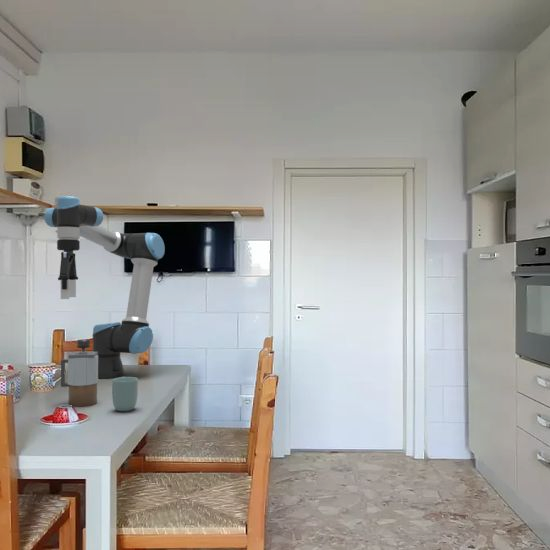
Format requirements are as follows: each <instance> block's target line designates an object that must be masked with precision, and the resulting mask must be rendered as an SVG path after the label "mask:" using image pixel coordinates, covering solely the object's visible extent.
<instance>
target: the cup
mask: <svg viewBox="0 0 550 550" xmlns="http://www.w3.org/2000/svg"><path fill="white" fill-rule="evenodd" d="M111 386H112V387H111V389H112V390H111V397H112V399H111V400H112V404H113V405H112V406H113V407H114V409H115V410H116V411H117V412H130V411H132V410H134V409H135V407H136V405H137V402H138V397H139V396H138V394H139V393H138V392H139V391H138V390H139V378H138V377H134V376H119V377H114V378H112V383H111Z"/></svg>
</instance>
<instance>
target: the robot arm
mask: <svg viewBox="0 0 550 550" xmlns="http://www.w3.org/2000/svg"><path fill="white" fill-rule="evenodd" d="M56 201H57V203H56V207H50V208H47V209H46V210H45V213H44V222H45V224H46V225H47V226H48V227H50V228H57V229H55V231H54V232H55V233H56V238H57V241H56V248H57V249H56V250H57V251H60V252H61V253H60V265H59V268H60V269H59V276H58V277H57V281H60V300H70V298H77V294H76V293H77V280H79V277H78V276H77V275H78V274H77V264H76V253H74V251H76V252H77V251H79V250H80V249H81V248H80V245H81V243H80V242H81V241H79V239H80V237H82V238H84V239H85V240H88V241H90V242H92V243H94V244H96V245H99V246H101V247H103V249H104V250H105V251H107V252H108V253H111V254H114V255H115V256H118V257H120V258H124V259H129V260H130V261H131V263H132V264H133V269H132V276H131V281H130V282H131V283H130V290H129V296H128V303H127V308H126V309H127V310H126V315H125V318H124V319H122V320H121V322H120V321H119V322H109V323H102V324H96V325H94V326H93V327H92V329H93V330H92V352H98V379H115V378H119V377H124V375H125V368H124V365H123V362H122V359H121V354H133V355H135V354H143V353H146V352H147V351H148V350H149V349H150V347H151V345H152V343H153V340H154V333H153V330H152V328H151V327H150V323H149V321H148V320H147V315H148V309H149V302H150V295H151V289H152V288H151V287H152V282H153V272H154V267H156V266H157V265H158V261H159V260H160V259H162V258H163V257H164V255H165V251H166V250H165V249H166V247H165V243H164V240H163V238H162V237H161V236H160V234H158V233H155V232H139V233H137V232H136V233H121V232H118V231H115V230H112V231H111V230H110V229H107V228H105V227H103V226H101V224H102V223H103V220H104V213H103V211H102V210H101V208H99V207H96V206H93V205H92V206H91V205H85V204H81V202H80V199H79V197H77V196H72V195H62V196H59V197H57V200H56Z"/></svg>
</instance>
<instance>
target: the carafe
mask: <svg viewBox="0 0 550 550" xmlns="http://www.w3.org/2000/svg"><path fill="white" fill-rule="evenodd" d="M67 358H68V359H67ZM67 358H66V359H64V358H63V359H61V360H60V388H63V387H64V388H67V387H68V404H69V405H72V406H73V408H83V407H90V406H91V407H92V406H93V405H96V404H98V381H99V378H98V352H93V351H85V354H82V351H73V352H71V353H70V354H68V357H67ZM66 364H67V382H66ZM69 405H68V406H69ZM72 406H71V407H72Z"/></svg>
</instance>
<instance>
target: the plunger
mask: <svg viewBox="0 0 550 550" xmlns="http://www.w3.org/2000/svg"><path fill="white" fill-rule="evenodd" d="M76 345H77V346H76V348H80V349H81V352H82V354H85V352H86V349H87V348H90V347H91V340H90V339H88V338H87V339H85V338H83V339H77V342H76Z"/></svg>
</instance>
